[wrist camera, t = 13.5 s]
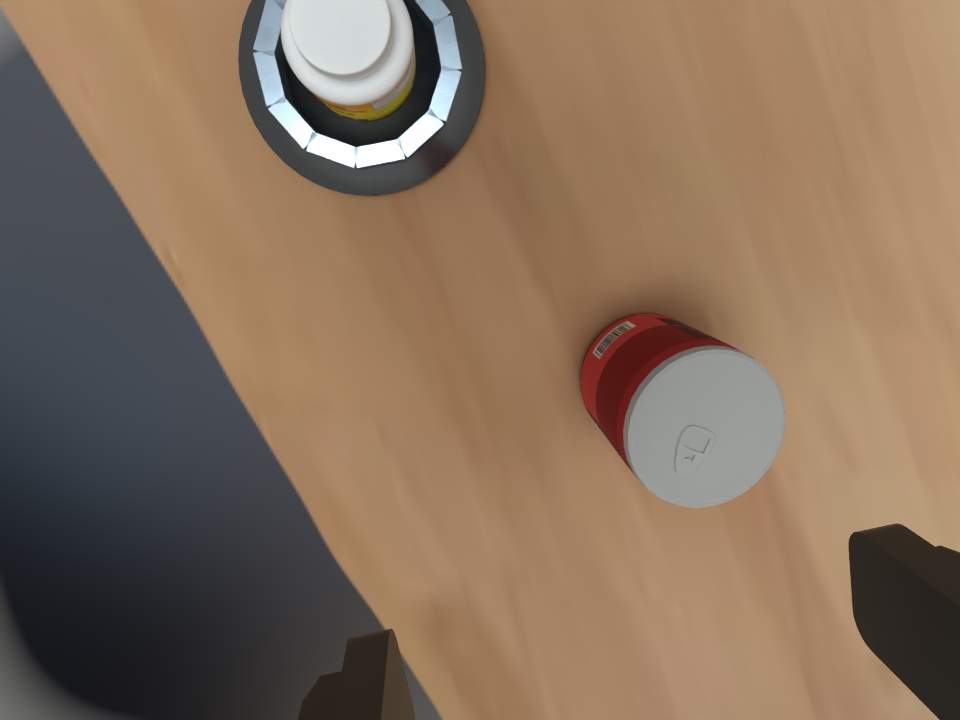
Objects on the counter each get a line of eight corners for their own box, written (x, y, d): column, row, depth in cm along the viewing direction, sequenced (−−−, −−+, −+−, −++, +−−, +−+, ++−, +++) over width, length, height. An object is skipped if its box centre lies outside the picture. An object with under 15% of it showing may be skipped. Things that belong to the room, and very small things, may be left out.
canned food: (568, 428, 43) (614, 503, 32) (587, 304, 41) (642, 339, 30) (685, 439, 44) (767, 516, 33) (708, 317, 42) (804, 356, 31)
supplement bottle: (289, 61, 36) (234, 6, 26) (368, -11, 35) (344, -95, 25) (360, 147, 37) (334, 126, 27) (438, 79, 37) (440, 32, 27)
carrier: (281, -97, 35) (265, -131, 32) (515, -2, 37) (524, -24, 34) (217, 149, 38) (196, 143, 34) (440, 227, 39) (441, 229, 36)
